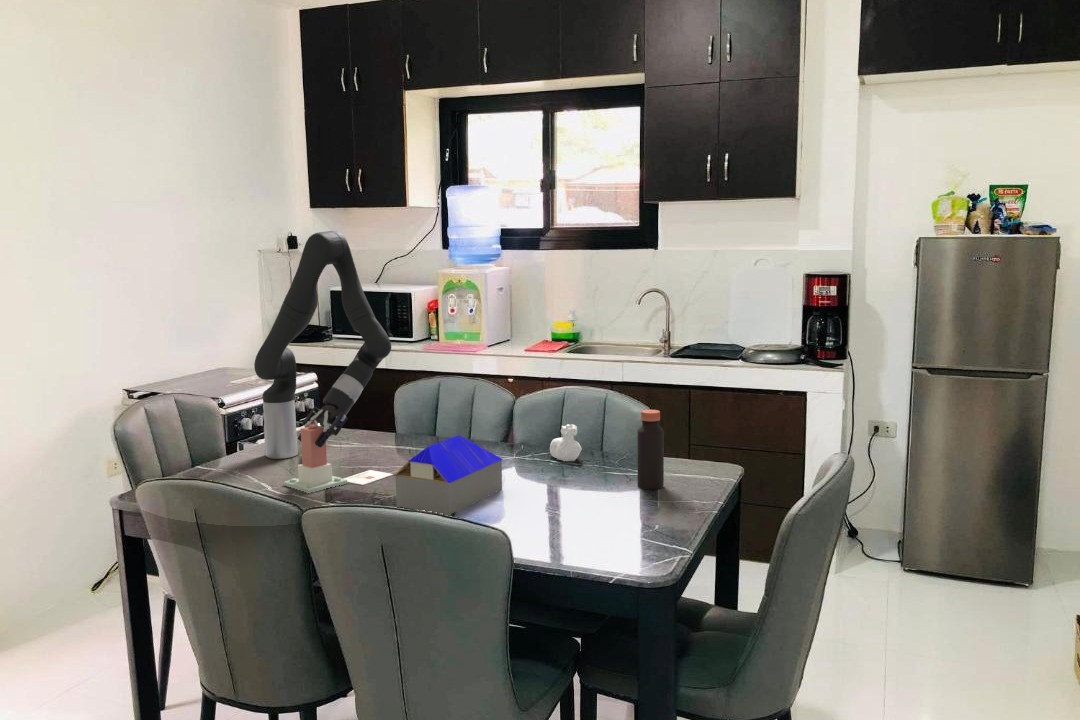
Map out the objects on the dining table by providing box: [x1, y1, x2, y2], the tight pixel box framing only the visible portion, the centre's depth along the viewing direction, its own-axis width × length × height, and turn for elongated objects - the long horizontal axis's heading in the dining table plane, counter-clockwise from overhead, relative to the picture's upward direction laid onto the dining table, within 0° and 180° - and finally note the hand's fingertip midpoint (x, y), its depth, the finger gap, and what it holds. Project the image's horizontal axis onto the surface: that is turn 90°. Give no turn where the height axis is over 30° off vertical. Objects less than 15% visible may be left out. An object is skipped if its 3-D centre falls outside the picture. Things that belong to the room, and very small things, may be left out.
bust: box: [549, 423, 583, 462], centre depth 255 cm, size 12×8×11 cm
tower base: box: [283, 462, 348, 494], centre depth 231 cm, size 12×12×6 cm
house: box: [393, 434, 504, 516], centre depth 217 cm, size 25×16×16 cm, turn 152°
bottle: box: [636, 409, 665, 491], centre depth 223 cm, size 7×7×20 cm
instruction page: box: [343, 469, 395, 486], centre depth 238 cm, size 9×12×1 cm
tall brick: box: [300, 424, 328, 468], centre depth 230 cm, size 5×5×11 cm
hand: (308, 443), depth 229 cm, fingers open, 8 cm apart
